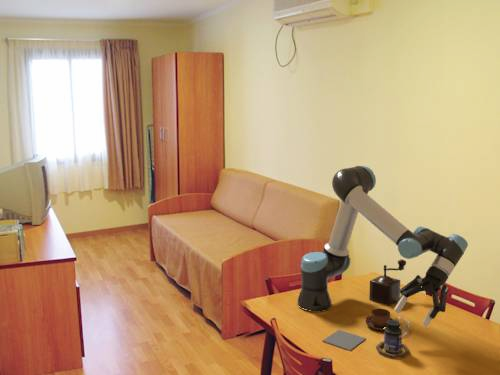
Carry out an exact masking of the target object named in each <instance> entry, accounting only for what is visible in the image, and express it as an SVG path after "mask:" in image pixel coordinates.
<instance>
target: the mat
mask: <svg viewBox="0 0 500 375" xmlns="http://www.w3.org/2000/svg"><path fill="white" fill-rule="evenodd" d="M366 339H367V338H366V337H363V336H361V335H357V334H353V333H351V332H348V331H345V330H342V329H337V330H336V331H334V332H333V333H332V334H330V335H329V336H327V337H326V338H324V339H322V342H323V343H325V344H329V345H332V346H334V347H337V348H339V349H343V350H345V351H349V352H350V351H352V350H353V349H355V348H356V347H358V346H359V345H360V344H362V343H363V342H365V340H366Z"/></svg>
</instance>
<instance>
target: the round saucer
mask: <svg viewBox="0 0 500 375" xmlns="http://www.w3.org/2000/svg"><path fill="white" fill-rule="evenodd" d="M382 347H384V340H383V341H381V342H379V343H377V345H376V346H375V349H376V350H377V353H378V354H379V355H380V356H384V357H386V358H389V359H404V358H406V357H407V356H408V355H410V349H409V347H408V346H407V345H406V344H405V343H402V349H403V350H404V351H403V353H399V354H390V353H387V352H386V351H383V350H382Z"/></svg>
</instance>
